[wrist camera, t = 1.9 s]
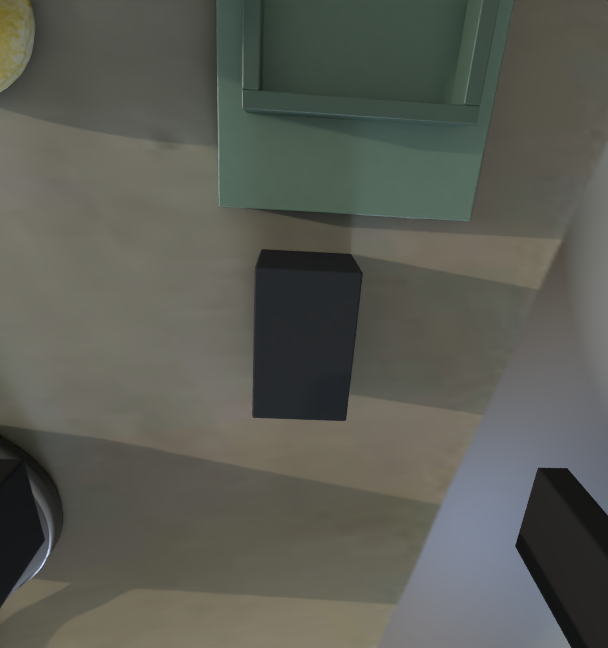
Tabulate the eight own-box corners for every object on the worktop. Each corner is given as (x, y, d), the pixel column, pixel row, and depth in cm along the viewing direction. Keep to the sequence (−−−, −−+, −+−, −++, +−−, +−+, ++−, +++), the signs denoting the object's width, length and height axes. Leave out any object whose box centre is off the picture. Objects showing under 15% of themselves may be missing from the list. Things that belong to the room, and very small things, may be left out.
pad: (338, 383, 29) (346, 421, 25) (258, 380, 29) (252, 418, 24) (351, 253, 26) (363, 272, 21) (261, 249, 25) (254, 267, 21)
